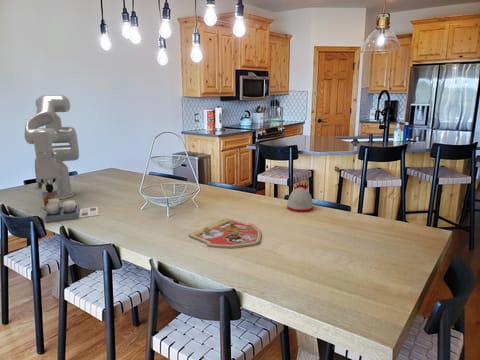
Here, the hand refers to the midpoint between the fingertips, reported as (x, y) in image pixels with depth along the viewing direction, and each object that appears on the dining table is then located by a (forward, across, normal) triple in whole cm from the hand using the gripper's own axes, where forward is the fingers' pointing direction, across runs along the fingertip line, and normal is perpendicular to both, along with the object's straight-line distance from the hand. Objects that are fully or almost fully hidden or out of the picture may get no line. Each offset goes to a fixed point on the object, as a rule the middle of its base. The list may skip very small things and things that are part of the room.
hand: (50, 192), depth 176 cm
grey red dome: (+16, -122, +35) cm, 128 cm away
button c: (+11, 0, -1) cm, 11 cm away
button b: (+14, -7, -8) cm, 18 cm away
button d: (+11, -7, -1) cm, 13 cm away
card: (+15, -16, -5) cm, 22 cm away
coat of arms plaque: (+17, -75, +55) cm, 95 cm away
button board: (+15, -4, -5) cm, 16 cm away
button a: (+11, 0, -8) cm, 14 cm away
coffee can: (+13, +11, -72) cm, 74 cm away
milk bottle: (+14, +3, -21) cm, 26 cm away
